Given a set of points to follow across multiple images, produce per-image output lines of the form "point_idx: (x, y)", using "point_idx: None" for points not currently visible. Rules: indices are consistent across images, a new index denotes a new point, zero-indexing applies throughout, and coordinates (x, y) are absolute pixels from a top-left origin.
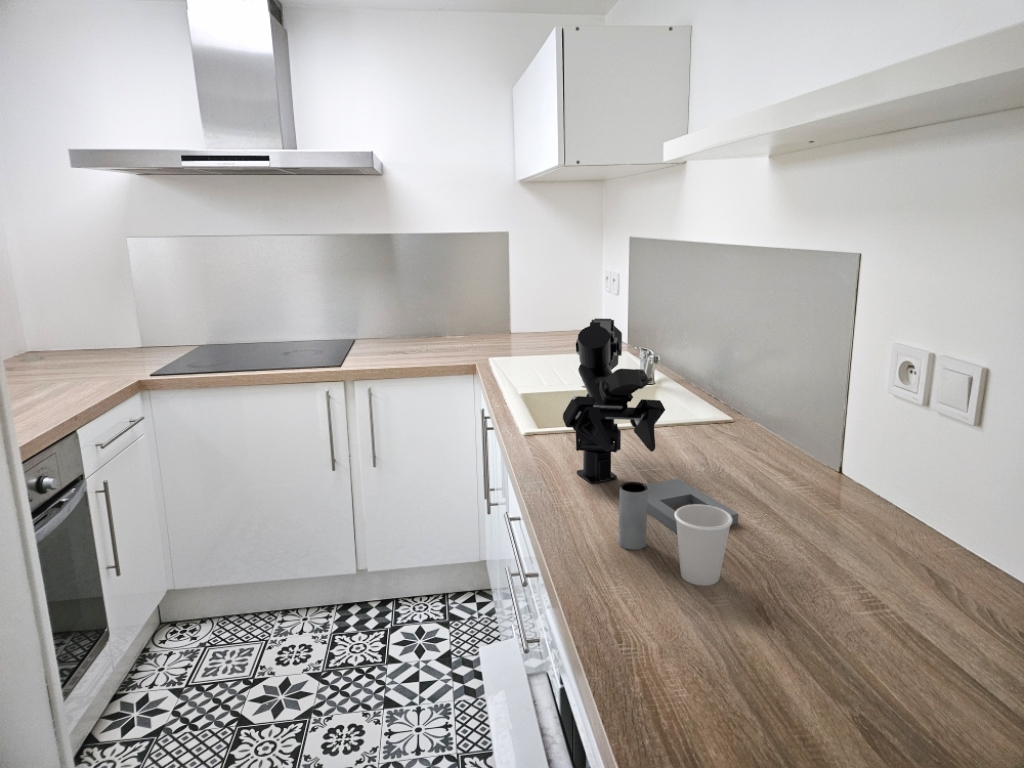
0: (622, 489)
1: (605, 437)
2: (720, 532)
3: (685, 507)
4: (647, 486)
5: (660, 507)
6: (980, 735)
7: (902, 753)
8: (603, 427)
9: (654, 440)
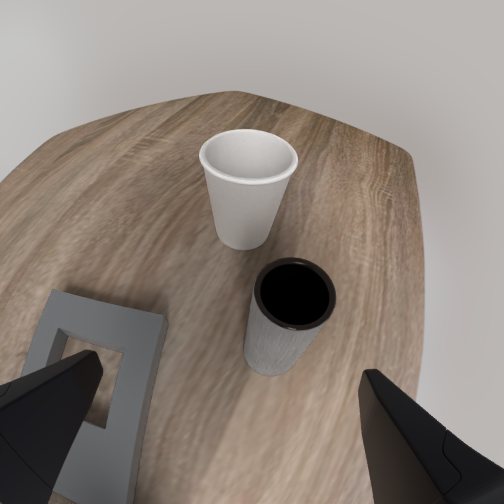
0: (335, 293)
1: (400, 402)
2: (251, 139)
3: (250, 178)
4: (76, 492)
5: (131, 401)
6: (233, 95)
7: (278, 102)
8: (418, 457)
9: (57, 362)
